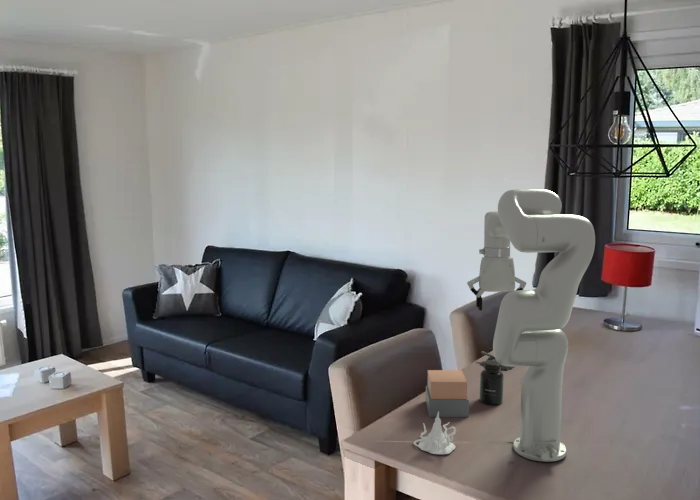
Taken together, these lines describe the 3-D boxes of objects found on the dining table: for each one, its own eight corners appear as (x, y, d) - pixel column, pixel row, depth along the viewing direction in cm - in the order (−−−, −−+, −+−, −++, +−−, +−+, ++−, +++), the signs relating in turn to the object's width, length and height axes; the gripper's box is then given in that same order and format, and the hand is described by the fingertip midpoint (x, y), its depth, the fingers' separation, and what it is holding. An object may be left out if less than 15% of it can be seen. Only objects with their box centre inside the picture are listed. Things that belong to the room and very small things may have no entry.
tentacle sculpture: (424, 434, 156) (424, 400, 155) (467, 446, 150) (467, 410, 149) (407, 447, 149) (407, 412, 148) (452, 460, 142) (452, 422, 141)
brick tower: (468, 417, 167) (469, 382, 166) (429, 416, 167) (429, 382, 166) (462, 402, 178) (463, 369, 177) (425, 401, 178) (425, 369, 177)
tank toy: (475, 368, 210) (475, 354, 209) (486, 361, 217) (486, 347, 216) (508, 375, 203) (508, 360, 202) (518, 367, 210) (518, 353, 209)
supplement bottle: (486, 406, 174) (487, 367, 173) (475, 398, 181) (476, 360, 179) (507, 404, 176) (508, 364, 174) (495, 396, 182) (496, 358, 181)
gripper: (469, 254, 174) (469, 312, 176) (529, 254, 173) (528, 312, 175) (465, 251, 182) (465, 307, 184) (523, 251, 181) (522, 307, 183)
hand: (496, 309), depth 179 cm, fingers open, 9 cm apart
